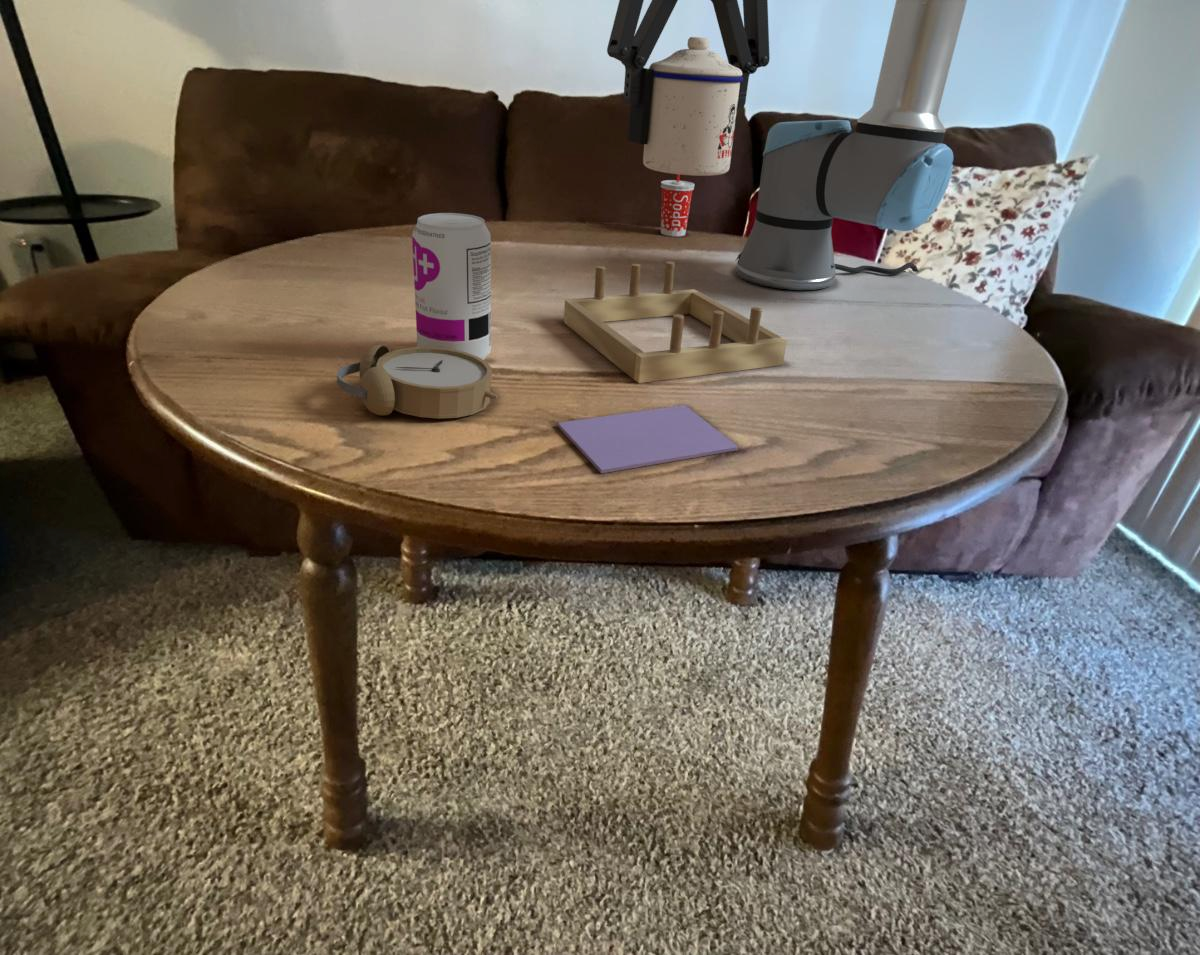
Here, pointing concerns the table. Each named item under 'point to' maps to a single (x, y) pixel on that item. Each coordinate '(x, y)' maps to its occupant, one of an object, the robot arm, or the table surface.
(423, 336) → the supplement can
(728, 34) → the robot arm
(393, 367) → the alarm clock
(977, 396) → the table surface
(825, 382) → the table surface
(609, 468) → the mat
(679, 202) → the beverage cup
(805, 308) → the table surface
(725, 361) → the rack
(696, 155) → the teacup with lid
